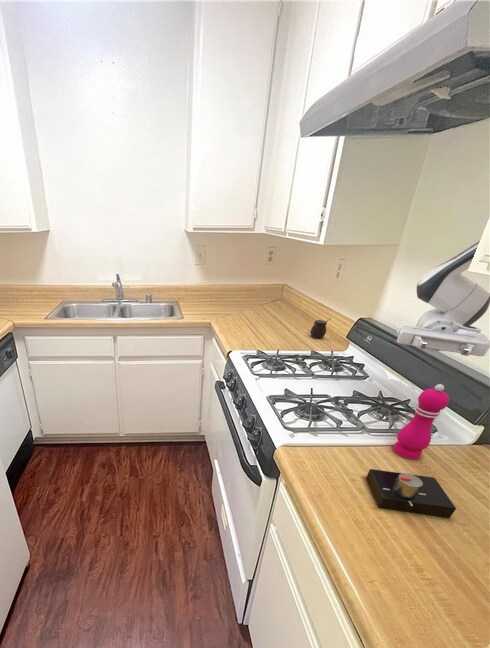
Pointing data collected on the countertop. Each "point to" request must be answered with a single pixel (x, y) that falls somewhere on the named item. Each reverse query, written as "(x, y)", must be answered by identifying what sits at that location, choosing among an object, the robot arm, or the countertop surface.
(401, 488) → the hob knob
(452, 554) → the countertop surface
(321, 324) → the mate gourd
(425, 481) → the black knob panel
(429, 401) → the pepper mill
